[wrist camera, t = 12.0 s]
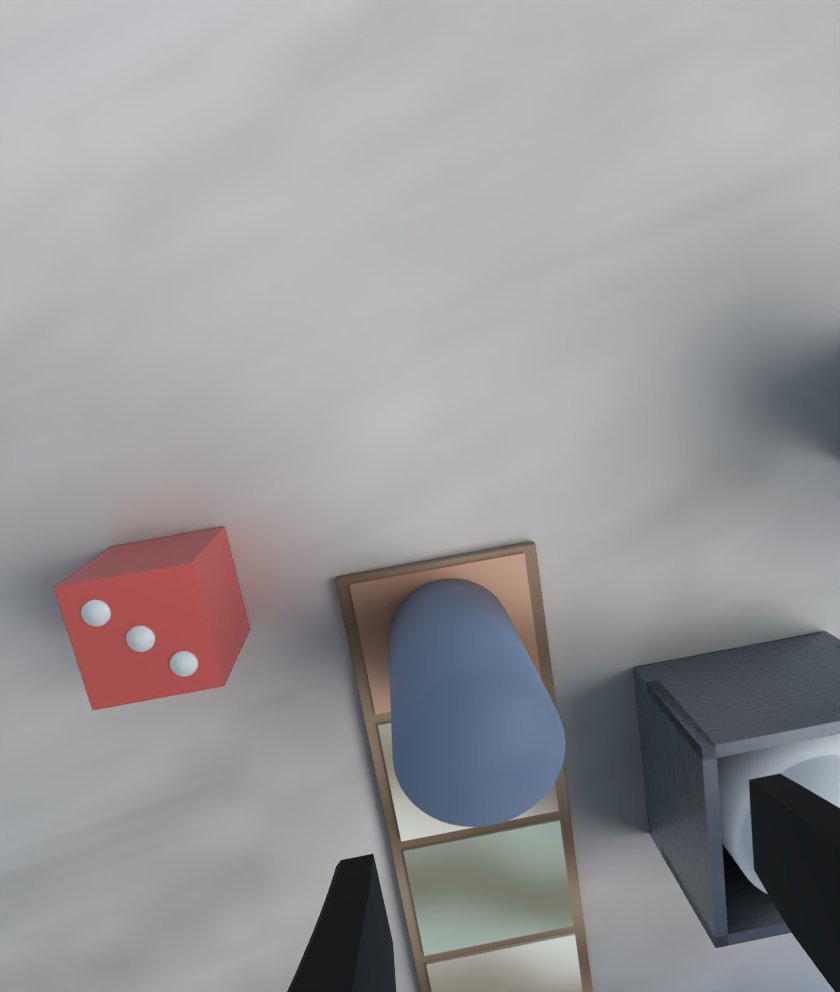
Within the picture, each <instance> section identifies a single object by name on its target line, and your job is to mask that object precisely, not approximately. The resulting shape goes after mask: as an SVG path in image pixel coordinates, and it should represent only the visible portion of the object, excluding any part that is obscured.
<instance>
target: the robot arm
mask: <svg viewBox="0 0 840 992" xmlns="http://www.w3.org/2000/svg"><path fill="white" fill-rule="evenodd" d="M749 793H750V810H751V828H752V845H753V863H754V871H755V872H756V874H757V876H758V878H759V879H760V881H761V883H762V885H763V886H764V888H765V890H766V892H767V893H768V895H769V897H770V899H771V900H772V902H773V904H774V905H775V907H776V909H777V910H778V912H779V913H780V915H781V917H782V918H783V920H784V922H785V923H786V925H787V927H788V928H789V930H790V931H791V932H792V934H793V935H794V937H795V938H796V939H797V941H798V942H799V943H800V945H801V946H802V948H803V949H804V950H805V952H806V953H807V954H808V956H809V957H810V958H811V960H812V961H813V962H814V964H815V965H816V967H817V968H818V969H819V971H820V972H821V973H822V975H823V976H824V977H825V979H826V980H827V981H828V983H829V984H830V985H831V987H832V988H833V989H834V991H835V992H840V808H839V807H837V806H835V805H834V804H832V803H830V802H828V801H827V800H825V799H823V798H822V797H820V796H818V795H817V794H815V793H813V792H812V791H810V790H808V789H806V788H805V787H803V786H801V785H800V784H798V783H796V782H794V781H793V780H791V779H789V778H787V777H785V776H784V775H782V774H775V775H770V776H765V777H760V778H755V779H750V780H749ZM287 992H396V982H395V967H394V952H393V941H392V937H391V932H390V928H389V923H388V918H387V914H386V909H385V905H384V900H383V896H382V891H381V887H380V882H379V877H378V873H377V868H376V864H375V859H374V855H373V854H370V855H365V856H360V857H355V858H350V859H345V860H341V861H340V862H339V864H338V865H337V866H336V869H335V872H334V876H333V879H332V882H331V885H330V888H329V891H328V894H327V897H326V899H325V902H324V905H323V908H322V910H321V913H320V916H319V918H318V921H317V923H316V926H315V929H314V931H313V934H312V936H311V938H310V941H309V943H308V945H307V948H306V950H305V952H304V955H303V957H302V960H301V962H300V964H299V967H298V969H297V971H296V974H295V976H294V978H293V980H292V982H291V985H290V987H289V989H288V991H287Z"/></svg>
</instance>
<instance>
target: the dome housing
mask: <svg viewBox="0 0 840 992" xmlns="http://www.w3.org/2000/svg"><path fill="white" fill-rule="evenodd" d="M634 670H635V681H636V691H637V702H638V712H639V723H640V734H641V744H642V755H643V765H644V776H645V786H646V797H647V808H648V818H649V829H650V835H651V837H652V839H653V841H654V842H655V844H656V846H657V847H658V849H659V851H660V853H661V854H662V856H663V858H664V860H665V861H666V863H667V865H668V866H669V868H670V870H671V872H672V873H673V875H674V877H675V879H676V880H677V882H678V884H679V885H680V887H681V889H682V891H683V892H684V894H685V896H686V898H687V899H688V901H689V903H690V905H691V906H692V908H693V910H694V911H695V913H696V915H697V917H698V918H699V920H700V922H701V924H702V925H703V927H704V929H705V930H706V932H707V934H708V936H709V937H710V939H711V941H712V943H713V944H714V946H715V948H718V947H723V946H728V945H733V944H738V943H743V942H747V941H752V940H757V939H762V938H767V937H772V936H777V935H782V934H787V933H791V931H790V930H789V928H788V927H787V925H786V923H785V922H784V920H783V918H782V917H781V915H780V913H779V912H778V910H777V909H776V907H775V905H774V904H773V902H772V900H771V899H770V897H769V895H768V894H767V893H765V892H763V891H761V890H760V889H759V888H757V887H756V886H754V885H753V884H752V883H751V882H750V881H749V880H748V878H747V877H746V876H745V874H744V873H743V871H742V870H741V869H740V867H739V866H738V864H737V863H736V862H735V860H734V859H733V857H732V856H731V855H730V853H729V852H728V851H727V849H726V848H725V846H724V845H723V844H722V832H721V816H720V801H719V785H718V769H717V758H718V757H724V756H729V755H734V754H739V753H744V752H749V751H754V750H760V749H765V748H770V747H775V746H780V745H785V744H791V743H796V742H801V741H806V740H811V739H816V738H821V737H827V736H832V735H837V734H840V640H839V639H838V638H836V637H834V636H833V635H831V634H829V633H828V632H820V633H815V634H810V635H804V636H799V637H794V638H788V639H783V640H778V641H772V642H767V643H762V644H756V645H751V646H746V647H741V648H735V649H730V650H725V651H719V652H714V653H709V654H703V655H698V656H693V657H687V658H682V659H677V660H671V661H666V662H661V663H656V664H650V665H645V666H640V667H634Z"/></svg>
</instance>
